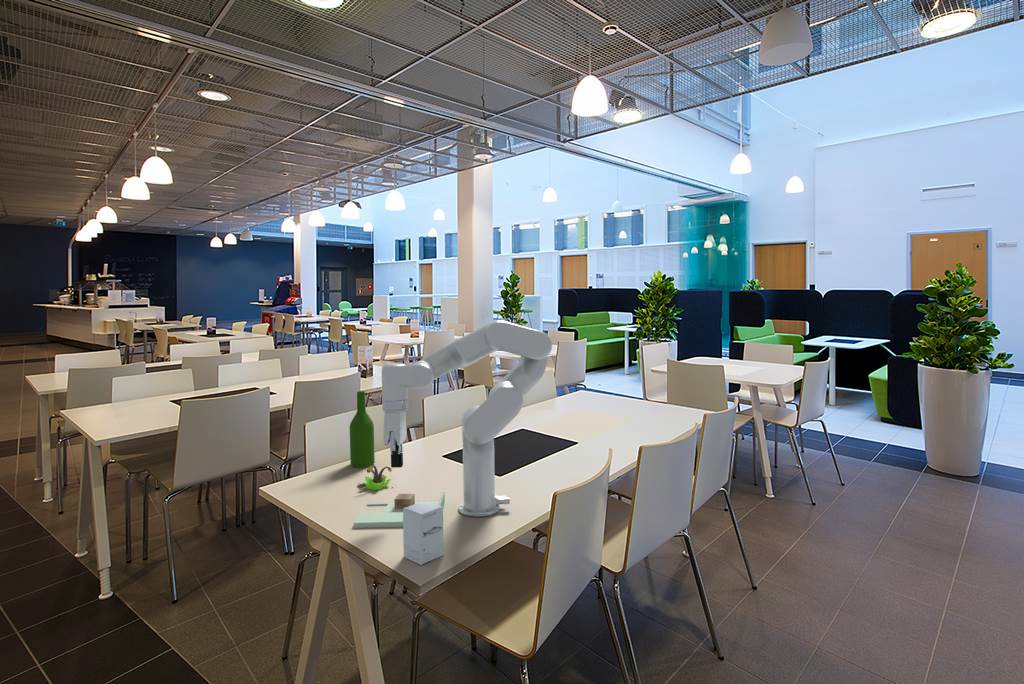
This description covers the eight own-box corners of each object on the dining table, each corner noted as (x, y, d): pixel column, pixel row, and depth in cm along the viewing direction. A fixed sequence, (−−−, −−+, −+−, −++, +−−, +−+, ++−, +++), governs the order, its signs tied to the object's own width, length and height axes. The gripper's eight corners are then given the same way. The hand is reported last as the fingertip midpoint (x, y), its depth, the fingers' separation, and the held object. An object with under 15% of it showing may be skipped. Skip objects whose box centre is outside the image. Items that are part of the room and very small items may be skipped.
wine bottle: (377, 472, 208) (375, 390, 207) (371, 478, 199) (369, 393, 198) (354, 472, 208) (352, 390, 207) (348, 479, 199) (345, 393, 198)
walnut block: (414, 503, 164) (414, 493, 164) (411, 508, 159) (410, 499, 159) (398, 503, 165) (398, 493, 165) (394, 508, 160) (394, 499, 160)
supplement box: (421, 566, 127) (420, 514, 127) (402, 557, 132) (401, 507, 132) (444, 555, 133) (443, 506, 132) (426, 547, 138) (425, 499, 137)
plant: (333, 499, 178) (332, 466, 177) (377, 484, 194) (377, 454, 194) (374, 510, 167) (373, 475, 166) (417, 493, 183) (416, 461, 183)
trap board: (444, 509, 166) (444, 492, 166) (439, 529, 150) (439, 510, 150) (367, 511, 165) (367, 493, 165) (354, 531, 149) (353, 512, 149)
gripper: (389, 401, 164) (390, 460, 165) (375, 409, 149) (377, 474, 150) (413, 401, 164) (414, 460, 165) (402, 409, 149) (404, 473, 150)
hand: (397, 466), depth 157 cm, fingers closed
